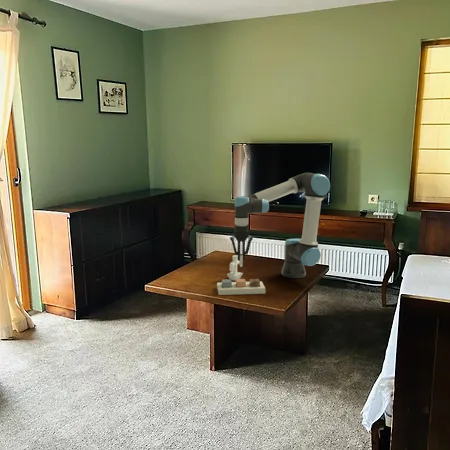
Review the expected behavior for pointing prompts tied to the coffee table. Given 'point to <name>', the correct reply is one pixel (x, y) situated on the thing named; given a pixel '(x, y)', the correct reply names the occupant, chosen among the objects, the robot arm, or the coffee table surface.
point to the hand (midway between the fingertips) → (241, 266)
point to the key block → (240, 289)
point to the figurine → (234, 269)
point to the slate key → (226, 283)
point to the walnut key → (254, 283)
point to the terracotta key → (240, 283)
